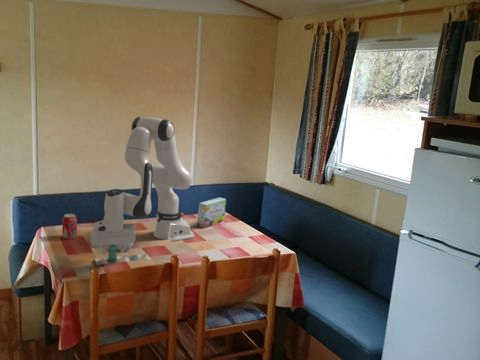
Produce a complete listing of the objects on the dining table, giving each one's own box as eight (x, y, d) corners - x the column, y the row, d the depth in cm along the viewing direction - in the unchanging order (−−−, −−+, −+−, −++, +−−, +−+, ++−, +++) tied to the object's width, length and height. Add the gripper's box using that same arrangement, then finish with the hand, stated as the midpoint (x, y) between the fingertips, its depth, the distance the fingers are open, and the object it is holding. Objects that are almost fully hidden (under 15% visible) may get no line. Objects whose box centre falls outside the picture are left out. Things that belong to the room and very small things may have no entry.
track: (147, 255, 232) (147, 253, 231) (151, 261, 226) (152, 259, 225) (93, 261, 220) (93, 258, 219) (96, 267, 214) (96, 264, 213)
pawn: (116, 258, 222) (117, 243, 220) (115, 261, 218) (116, 246, 217) (109, 258, 222) (109, 243, 220) (107, 261, 218) (108, 245, 216)
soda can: (64, 234, 249) (64, 212, 246) (78, 235, 249) (78, 213, 247) (60, 239, 242) (61, 217, 239) (74, 240, 243) (75, 217, 240)
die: (122, 257, 229) (135, 240, 230) (108, 246, 230) (121, 229, 231) (126, 256, 237) (138, 240, 239) (112, 246, 238) (125, 230, 239)
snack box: (203, 229, 279) (205, 204, 275) (196, 226, 282) (198, 202, 278) (224, 221, 296) (226, 198, 293) (217, 219, 299) (219, 196, 296)
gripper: (134, 221, 224) (133, 248, 227) (89, 223, 214) (89, 252, 217) (137, 225, 218) (136, 253, 221) (92, 228, 209) (91, 257, 212)
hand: (112, 252), depth 219 cm, fingers open, 7 cm apart
